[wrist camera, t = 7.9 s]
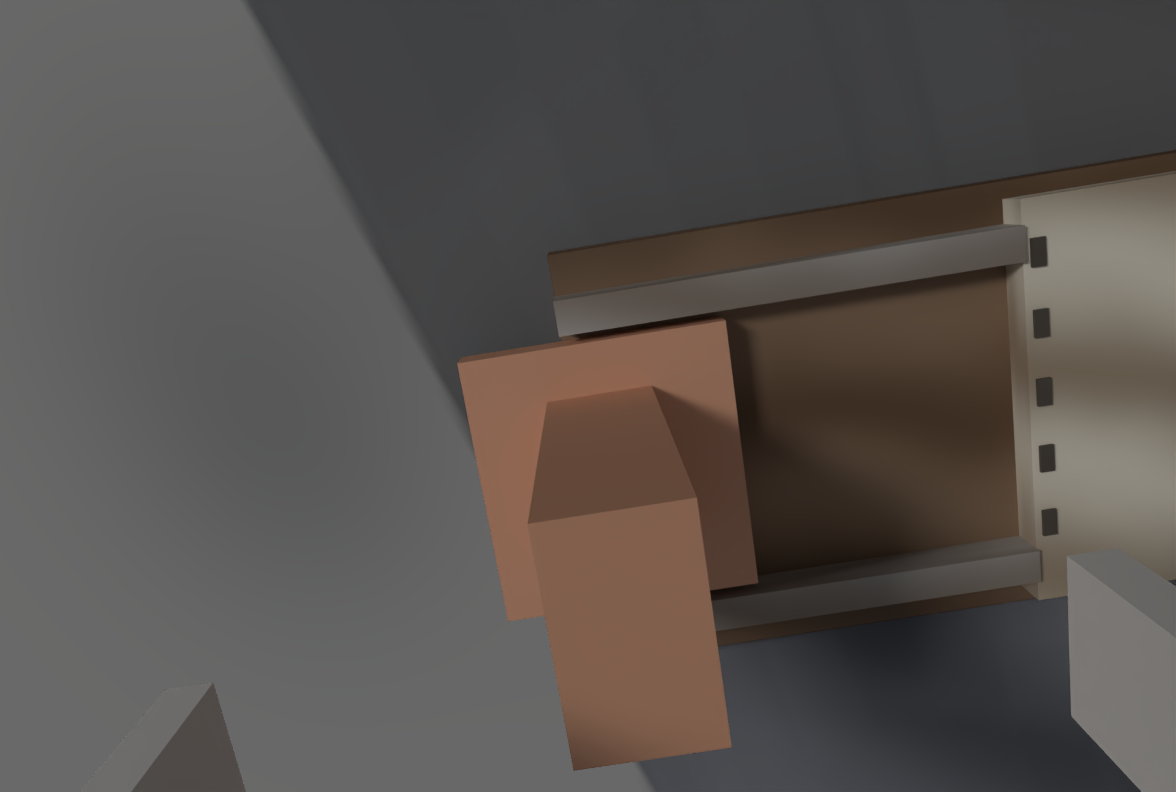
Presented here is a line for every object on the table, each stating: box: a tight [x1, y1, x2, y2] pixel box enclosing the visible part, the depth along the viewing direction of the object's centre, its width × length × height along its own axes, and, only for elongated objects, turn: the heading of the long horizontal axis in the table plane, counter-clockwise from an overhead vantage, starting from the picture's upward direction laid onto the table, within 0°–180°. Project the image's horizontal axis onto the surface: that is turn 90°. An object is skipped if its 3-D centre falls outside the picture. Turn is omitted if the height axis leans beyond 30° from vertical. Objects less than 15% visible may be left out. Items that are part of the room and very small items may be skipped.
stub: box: [457, 316, 758, 771], centre depth 20 cm, size 8×8×10 cm
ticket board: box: [547, 150, 1176, 646], centre depth 25 cm, size 13×28×3 cm, turn 99°
